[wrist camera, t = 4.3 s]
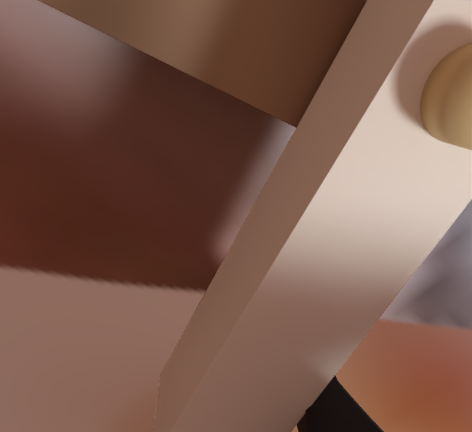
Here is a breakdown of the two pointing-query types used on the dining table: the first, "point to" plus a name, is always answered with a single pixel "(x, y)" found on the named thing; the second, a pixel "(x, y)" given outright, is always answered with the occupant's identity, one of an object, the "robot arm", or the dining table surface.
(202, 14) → the stool seat
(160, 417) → the hinged leg
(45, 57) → the dining table surface
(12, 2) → the dining table surface
